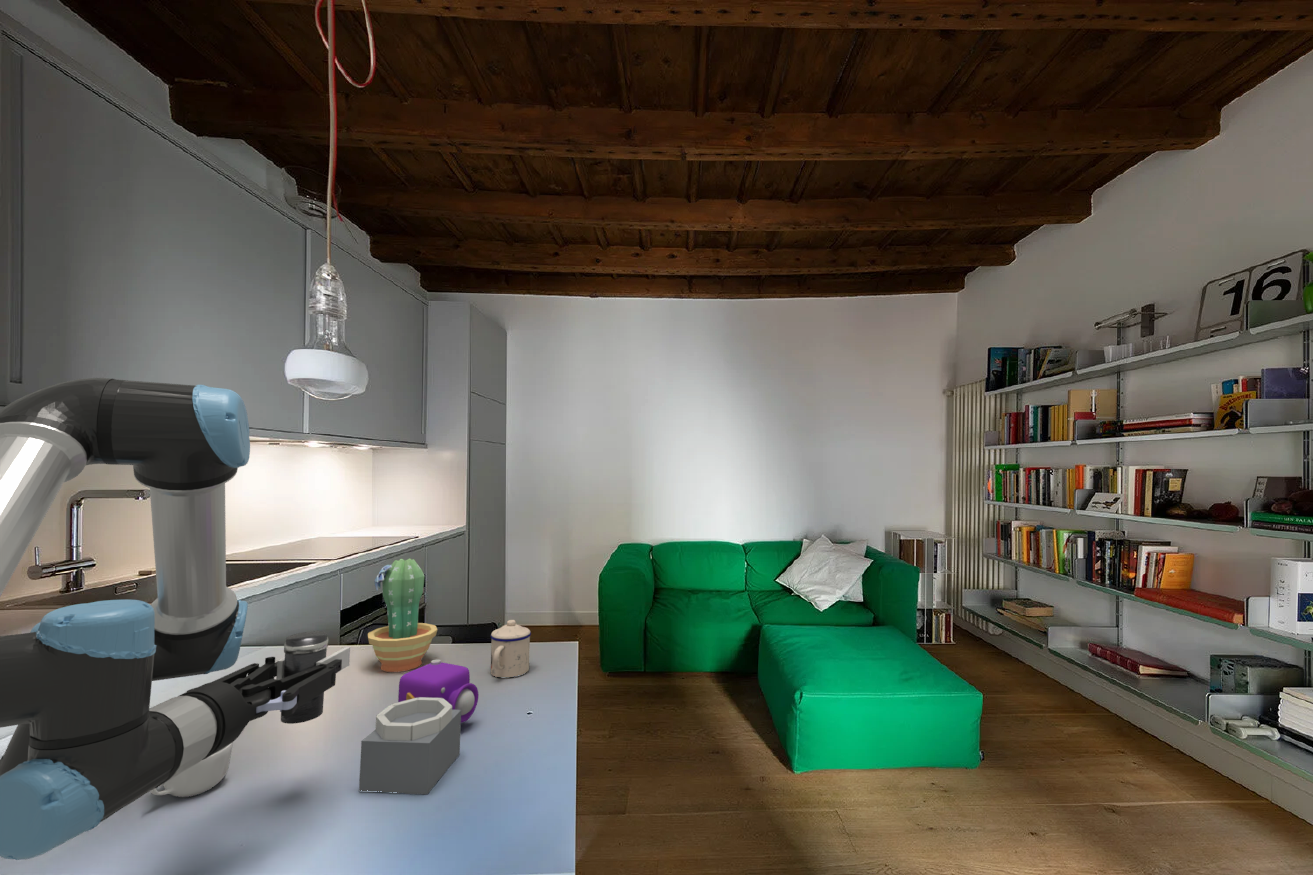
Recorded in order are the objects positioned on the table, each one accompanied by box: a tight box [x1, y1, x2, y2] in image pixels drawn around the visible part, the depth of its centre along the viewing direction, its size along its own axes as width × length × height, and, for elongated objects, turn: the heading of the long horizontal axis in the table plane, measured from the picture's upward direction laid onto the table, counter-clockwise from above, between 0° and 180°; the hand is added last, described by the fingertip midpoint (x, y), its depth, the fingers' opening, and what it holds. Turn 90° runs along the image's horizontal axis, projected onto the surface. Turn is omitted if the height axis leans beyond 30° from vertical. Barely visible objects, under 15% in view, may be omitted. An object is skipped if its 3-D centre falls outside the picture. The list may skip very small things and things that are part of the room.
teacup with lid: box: [490, 619, 532, 678], centre depth 122 cm, size 12×9×12 cm
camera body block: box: [358, 697, 462, 795], centre depth 81 cm, size 10×11×9 cm
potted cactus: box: [367, 558, 438, 673], centre depth 128 cm, size 15×15×25 cm
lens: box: [280, 630, 329, 725], centre depth 76 cm, size 5×5×11 cm
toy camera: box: [397, 659, 479, 724], centre depth 97 cm, size 11×14×10 cm
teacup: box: [150, 741, 234, 798], centre depth 75 cm, size 10×8×5 cm
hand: (329, 655), depth 81 cm, fingers closed on lens, 5 cm apart
